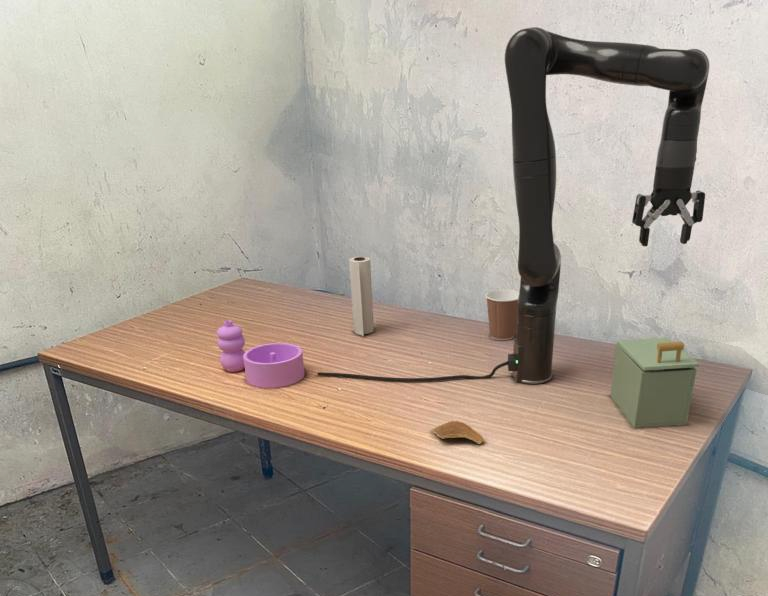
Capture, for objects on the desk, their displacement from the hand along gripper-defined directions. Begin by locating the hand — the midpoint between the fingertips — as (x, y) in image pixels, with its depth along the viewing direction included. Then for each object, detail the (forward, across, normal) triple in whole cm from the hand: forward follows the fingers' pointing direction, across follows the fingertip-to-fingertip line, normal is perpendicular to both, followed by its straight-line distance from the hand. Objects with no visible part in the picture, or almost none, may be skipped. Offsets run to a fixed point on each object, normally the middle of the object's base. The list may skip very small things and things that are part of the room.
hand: (663, 244), depth 165 cm
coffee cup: (+34, +26, -43) cm, 61 cm away
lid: (+21, +2, +11) cm, 24 cm away
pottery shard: (+34, +47, +18) cm, 61 cm away
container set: (+34, +94, -26) cm, 103 cm away
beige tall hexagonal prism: (+34, +66, -54) cm, 92 cm away
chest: (+34, +2, +10) cm, 36 cm away
